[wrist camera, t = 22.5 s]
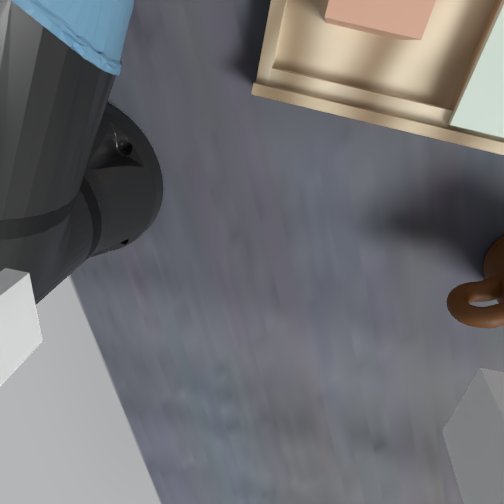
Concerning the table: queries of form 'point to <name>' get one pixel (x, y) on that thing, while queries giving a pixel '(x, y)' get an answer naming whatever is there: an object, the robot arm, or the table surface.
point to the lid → (485, 86)
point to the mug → (482, 293)
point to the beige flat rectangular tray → (377, 67)
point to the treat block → (382, 16)
